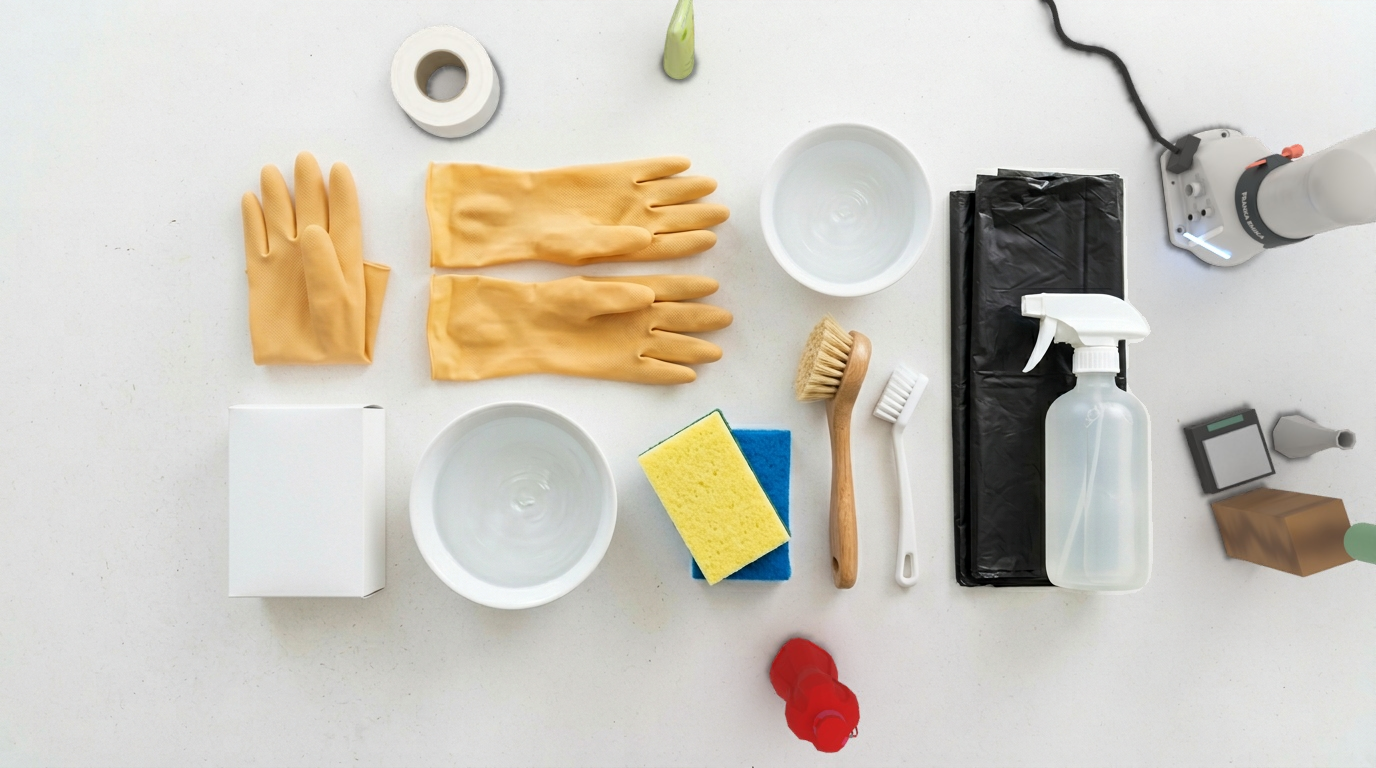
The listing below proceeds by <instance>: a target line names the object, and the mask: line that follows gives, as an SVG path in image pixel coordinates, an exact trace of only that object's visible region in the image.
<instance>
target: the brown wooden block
mask: <svg viewBox="0 0 1376 768" xmlns="http://www.w3.org/2000/svg"><path fill="white" fill-rule="evenodd" d="M1210 505H1211V509H1212V511H1213V514H1214V517H1215V521H1216V524H1217V527H1218V530H1219V532H1220V536H1221V538H1222V542H1223V546H1224V548H1225V551H1226V555H1227V557H1229V558H1233V559H1236V560H1240V561H1243V562H1246V563H1251V564H1253V565H1258V566H1262V567H1265V568H1269V569H1271V570H1272V569H1273V570H1276V571H1279V572H1283V573H1287V574H1291V575H1294V576H1298V577H1301V578H1307V577H1310V576H1312V575H1315V574H1318V573H1321V572H1325V571H1328V570H1330V569H1333V568H1337V567H1339V566H1343V565H1346V564H1349V563H1351V562H1355V561H1357V560H1356V559H1354V558H1352V557H1351V556H1350V555H1349V554H1348V553H1347V552H1346V550H1345V547H1344V536H1345V534H1346V532H1347V530H1348V529H1349V528H1350V527H1351V526H1352V524H1351V522H1350V518H1349V516H1348V513H1347V509H1346V506H1345V503H1344V501H1343V499H1342V498H1339V497H1333V496H1332V497H1331V496H1325V495H1318V494H1313V493H1312V494H1311V493H1305V492H1299V491H1291V490H1286V489H1285V490H1284V489H1277V488H1270V487H1264V486H1261V487H1258V488H1254V489H1252V490H1248V491H1246V492H1243V493H1240V494H1237V495H1234V496H1230V497H1228V498H1224V499H1222V500H1219V501H1215V502H1212V503H1211V504H1210Z"/></svg>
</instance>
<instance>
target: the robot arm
mask: <svg viewBox="0 0 1376 768" xmlns="http://www.w3.org/2000/svg"><path fill="white" fill-rule="evenodd" d="M1042 1H1043V2H1045V3H1046V4H1047V5H1048V7H1049V9H1050V12H1051V16H1052V20H1053V25H1054V29H1055V31H1056V34H1057V36H1058V37H1059V39H1060V40H1061V41H1062V42H1063V43H1064V44H1066V45H1067V46H1069V47H1071V48H1072V49H1076V50H1079V51H1084V52H1090V53H1091V52H1092V53H1096V54H1097V53H1098V54H1100V55H1104V56H1106V57H1108V58H1109V59H1110V60H1112V61H1113V62H1114V63H1115V65H1117V67H1118V68H1119V70H1120V72H1121V74H1122V76H1123V79H1124V81H1125V85H1126V87H1127V89H1128V92H1129V94H1130V97H1131V98H1132V100H1133V102H1134V104H1135V106H1136V108H1137V110H1138V112H1139V114H1140V116H1141V119H1142V120H1143V122H1144V124H1145V125H1146V128H1147V129H1148V131H1149V132H1150V134H1151V135H1152V137H1153V138H1154V140H1155V141H1156V142H1157V143H1158V144H1160V145H1161V146H1163V147H1164V148H1166V149H1165V151H1164V152H1163V153H1162V154H1161V156H1160V159H1159V160H1160V161H1159V162H1160V169H1161V177H1162V185H1163V186H1162V187H1163V193H1164V201H1165V202H1164V203H1165V209H1166V211H1165V212H1166V217H1167V225H1168V226H1167V227H1168V235H1169V240H1170V242H1171V244H1172V245H1174V246H1175V247H1178V248H1180V249H1184V250H1188V251H1189V252H1191V253H1192V254H1194V255H1195V256H1196V257H1197V258H1198V259H1200V260H1201V261H1203V262H1205V263H1207V264H1209V265H1213V266H1217V267H1223V268H1225V267H1226V268H1227V267H1234V266H1238V265H1241V264H1243V263H1246V262H1247V261H1249V260H1250V259H1251V258H1253V257H1254V256H1256V255H1258V254H1260V253H1262V252H1264V251H1266V250H1269V249H1270V250H1271V249H1279V248H1283V247H1289V246H1292V245H1295V244H1299V243H1302V242H1304V241H1307V240H1308V239H1311V238H1313V237H1314V236H1316V235H1319V234H1323V233H1327V232H1332V231H1335V230H1339V229H1343V228H1348V227H1352V226H1362V225H1369V224H1373V223H1376V127H1375V128H1372V129H1368V130H1365V131H1363V132H1360V133H1357V134H1355V135H1353V136H1350V137H1348V138H1346V139H1343V140H1341V141H1338V142H1336V143H1334V144H1332V145H1330V146H1328V147H1325V148H1324V149H1321V150H1319V151H1316V152H1313V153H1311V154H1309V155H1305V156H1303V154H1304V153H1305V149H1304V146H1303V145H1301V144H1299V143H1296V144H1293V145H1291V146H1286V147H1284V148H1283V149H1282V150H1281V154H1280V153H1274V152H1273V151H1272V150H1271V149H1269V147H1267V146H1266V144H1264V143H1263V141H1262V140H1260V139H1259V138H1257V137H1256V136H1252V135H1251V136H1250V135H1243V134H1242V133H1241V132H1240V131H1238V130H1235V129H1230V128H1214V129H1209V130H1205V131H1204V130H1203V131H1201V132H1198V133H1195V134H1190V133H1188V134H1186V135H1184V136H1182V137H1180V138H1178V139H1177V140H1176V141H1175V142H1174V143H1171V142H1170V141H1168V140H1167V139H1166V138H1164V137H1162V135H1161V134H1160V133H1159V131H1158V130H1157V128H1156V126H1155V125H1154V124H1153V122H1152V119H1151V118H1150V116H1149V114H1148V112H1147V110H1146V108H1145V106H1144V104H1143V102H1142V100H1141V98H1140V96H1139V94H1138V91H1137V90H1136V88H1135V85H1134V83H1133V80H1132V77H1131V75H1130V72H1129V70H1128V68H1127V66H1126V64H1125V62H1123V60H1122V59H1121V58H1120V57H1119V56H1118V55H1117V54H1116V53H1115V52H1114V51H1111V50H1110V49H1107V48H1105V47H1102V46H1096V45H1089V44H1083V43H1079V42H1077V41H1075V40H1072V39H1071V38H1070V37H1069V36H1068V35H1066V33H1065V31H1064V30H1063V28H1062V24H1061V20H1060V16H1059V12H1058V8H1057V5H1056V2H1055V0H1042ZM1302 156H1303V157H1302ZM1293 159H1295V160H1293Z"/></svg>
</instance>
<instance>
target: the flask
mask: <svg viewBox="0 0 1376 768" xmlns="http://www.w3.org/2000/svg"><path fill="white" fill-rule="evenodd" d="M1272 437H1273V445H1274V451H1277V452H1278V453H1280V454H1281V455H1284V456H1285V457H1286V458H1288V459H1297V458H1304V457H1309V456H1312V455H1314V454H1316V453H1319V452H1322V451H1325V450H1328V449H1332V448H1333V449H1335V448H1336V449H1340V450H1342V451H1349V450H1353V449H1354V447H1355V446H1356V443H1357V437H1356V433H1355V432H1354V431H1352V430H1350V429H1339V430H1335V429H1331V428H1328V427H1325V426H1323V425H1320V424H1318V423H1316V422H1313V421H1311V420H1309V419H1307V418H1306V417H1304V416H1302V415H1299V414H1294V415H1287V416H1280V418H1279V420H1278V422H1277V424H1276V425H1275V427H1274V428H1273V431H1272Z"/></svg>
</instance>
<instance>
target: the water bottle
mask: <svg viewBox="0 0 1376 768" xmlns="http://www.w3.org/2000/svg"><path fill="white" fill-rule="evenodd" d="M769 679H770V684H771V685H772V687H773V689H774V691H775V693H776V695H777V696H779V697H780V698H781V699H782V700H783V701H785V707H784V716H785V720H786V724H787V725H786V726H787V727H788V729H789V730H790V731H791V732H792V733H793V734H794V735H795V736H796V737H797V739H798V740H799V741H807V742H809V743H811V744H812V745H813V747H814V748H815V750H816V751H817V752H822V753H825V754H834V753H839V752H840V751H841V750H842V749H843V748H844V747H845V746H846V745H847V743H848V742H849V740H850V739H855V738H857V736H858V735H859V729H858V725H859V722H860V719H861V714H860V713H861V712H860V703H859V701H858V697H857V695H856V694H855V693H854V692H853V691H852V690H851V689H850V688H849V686H848V685H846V684H844V683H842V682H841V681H840V680H839V671H838V667H837V665H836V662H835V659H834V658H833V656H832V655H831V654H830V653H829V652H828V651H826V650H825V649H824V648H822V647H821V646H819V645H817V644H815V642H814V643H813V642H812V641H810V640H808V639H804V638H801V637H795V638H790V640H788V641H787V642H786V643H784V645H783V646H781V648H780V650H779V651H778V653H777V655H776V656H775V657H774V659H773V661H772V664H771V667H770V671H769ZM854 730H855V734H854Z"/></svg>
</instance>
